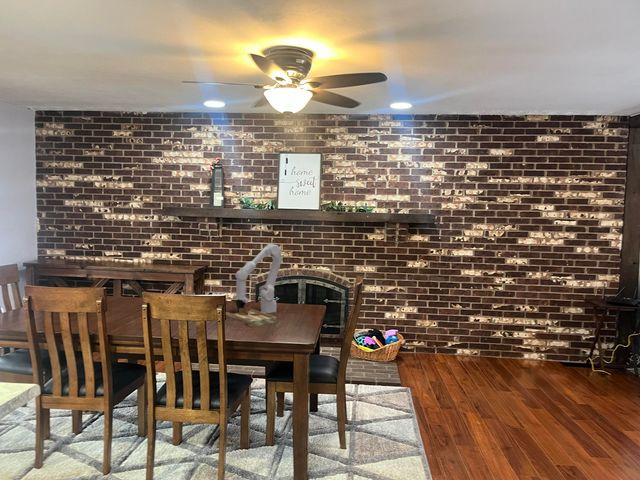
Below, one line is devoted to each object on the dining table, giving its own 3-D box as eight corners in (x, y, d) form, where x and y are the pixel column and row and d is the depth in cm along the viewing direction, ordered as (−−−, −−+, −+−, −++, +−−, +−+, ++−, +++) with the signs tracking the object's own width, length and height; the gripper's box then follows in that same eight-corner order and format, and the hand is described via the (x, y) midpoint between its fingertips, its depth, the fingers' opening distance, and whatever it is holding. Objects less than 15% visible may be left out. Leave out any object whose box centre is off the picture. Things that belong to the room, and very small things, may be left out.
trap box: (250, 313, 277) (250, 308, 277) (276, 322, 257) (276, 317, 257) (225, 317, 265) (225, 312, 265) (250, 326, 245) (250, 321, 245)
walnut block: (244, 313, 270) (244, 307, 269) (248, 314, 267) (248, 308, 266) (238, 314, 267) (239, 307, 267) (242, 315, 264) (242, 309, 264)
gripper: (229, 289, 271) (228, 310, 272) (241, 292, 261) (241, 315, 261) (238, 288, 276) (238, 309, 277) (251, 291, 265) (251, 314, 266)
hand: (240, 312), depth 269 cm, fingers closed
